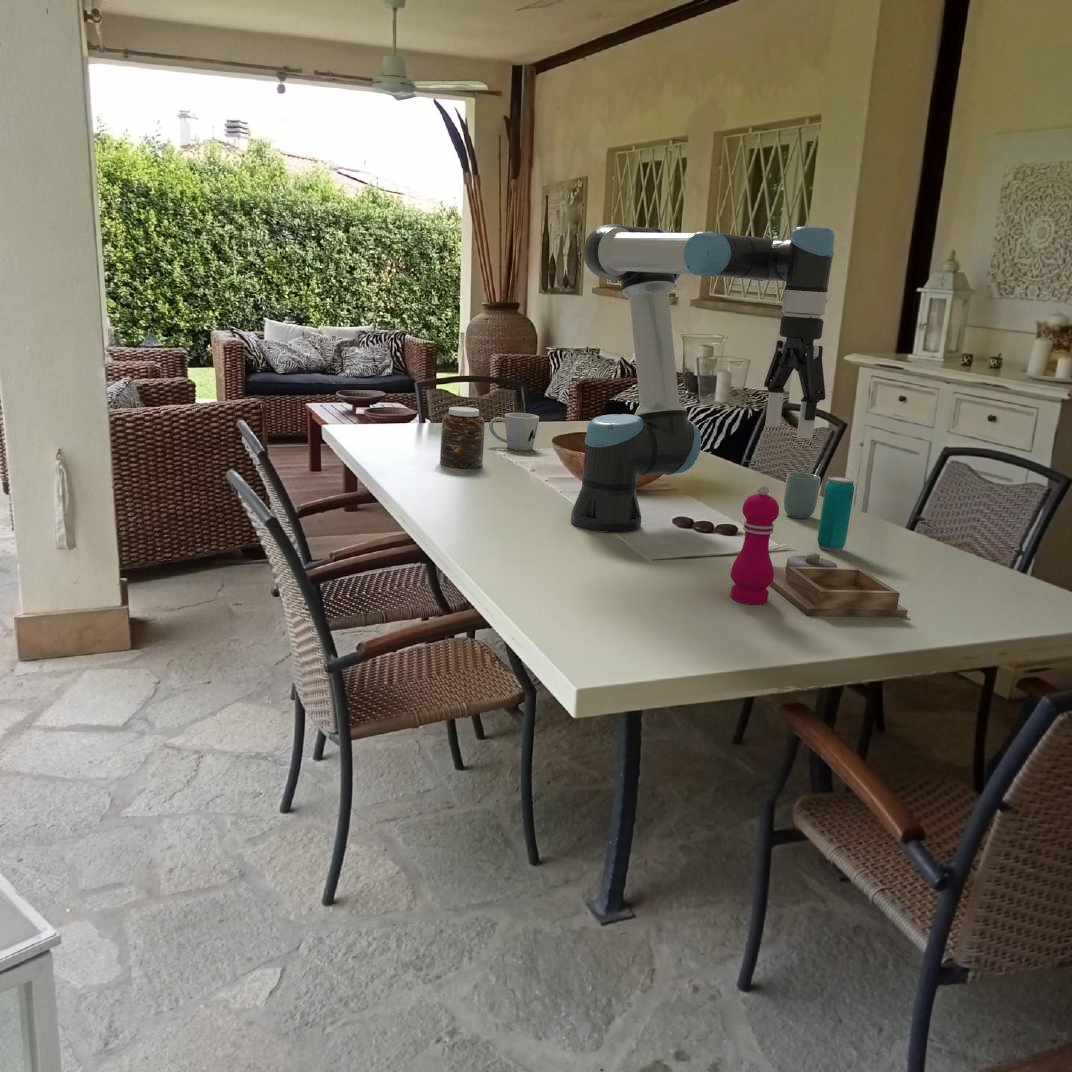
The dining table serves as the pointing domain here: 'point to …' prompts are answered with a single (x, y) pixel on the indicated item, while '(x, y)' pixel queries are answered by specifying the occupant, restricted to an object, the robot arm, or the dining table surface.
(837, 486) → the beverage can
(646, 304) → the robot arm
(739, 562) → the pepper mill
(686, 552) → the dining table surface
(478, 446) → the jar
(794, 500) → the cup
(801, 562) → the pulley board
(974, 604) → the dining table surface
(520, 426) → the mug
